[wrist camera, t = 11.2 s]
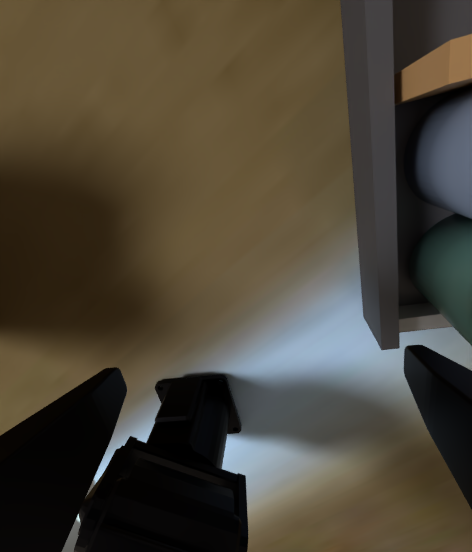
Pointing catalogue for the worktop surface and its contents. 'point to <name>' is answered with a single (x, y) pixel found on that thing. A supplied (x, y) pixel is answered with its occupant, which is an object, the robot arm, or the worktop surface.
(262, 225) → the worktop surface
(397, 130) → the grey open rectangular box
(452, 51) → the bar
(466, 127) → the slate jar
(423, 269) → the teal jar
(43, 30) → the worktop surface
